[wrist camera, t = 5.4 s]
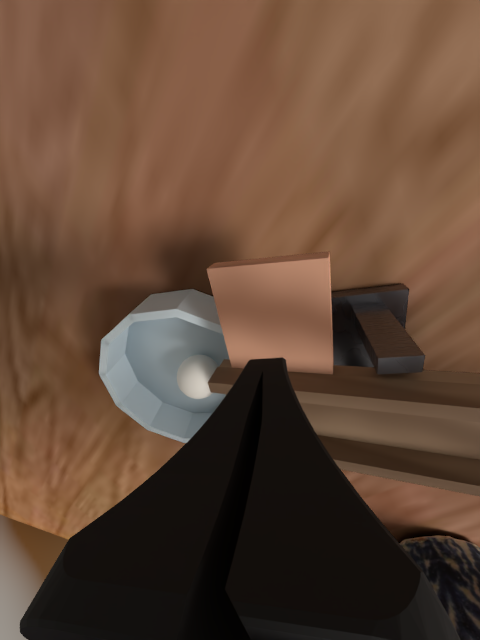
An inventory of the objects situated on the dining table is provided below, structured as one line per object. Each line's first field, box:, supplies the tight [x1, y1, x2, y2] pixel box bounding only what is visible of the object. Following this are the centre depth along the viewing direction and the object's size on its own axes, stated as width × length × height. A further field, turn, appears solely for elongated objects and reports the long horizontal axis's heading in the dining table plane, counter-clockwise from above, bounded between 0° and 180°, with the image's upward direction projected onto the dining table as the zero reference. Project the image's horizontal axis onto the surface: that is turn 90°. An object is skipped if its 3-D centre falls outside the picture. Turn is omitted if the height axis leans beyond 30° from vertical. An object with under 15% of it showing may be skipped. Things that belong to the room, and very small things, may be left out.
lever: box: [207, 252, 480, 496], centre depth 13 cm, size 12×20×4 cm, turn 101°
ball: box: [177, 355, 218, 399], centre depth 21 cm, size 4×4×4 cm
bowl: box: [99, 289, 229, 443], centre depth 22 cm, size 13×13×4 cm
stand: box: [331, 284, 425, 374], centre depth 17 cm, size 10×5×7 cm, turn 11°
